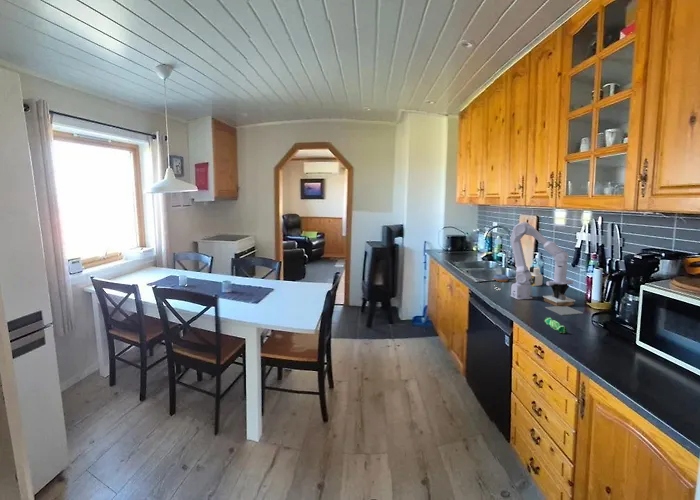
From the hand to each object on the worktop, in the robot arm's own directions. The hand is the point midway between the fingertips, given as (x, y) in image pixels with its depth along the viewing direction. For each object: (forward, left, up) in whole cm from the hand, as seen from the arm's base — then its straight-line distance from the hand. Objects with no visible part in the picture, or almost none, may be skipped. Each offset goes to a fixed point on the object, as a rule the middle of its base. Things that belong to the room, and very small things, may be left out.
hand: (558, 297), depth 189 cm
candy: (-27, -32, -4) cm, 42 cm away
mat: (-6, -12, -3) cm, 13 cm away
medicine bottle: (+13, +39, -4) cm, 41 cm away
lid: (0, 0, -2) cm, 2 cm away
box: (0, 0, -3) cm, 3 cm away
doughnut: (-2, +54, -4) cm, 54 cm away
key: (-15, +36, -4) cm, 40 cm away
